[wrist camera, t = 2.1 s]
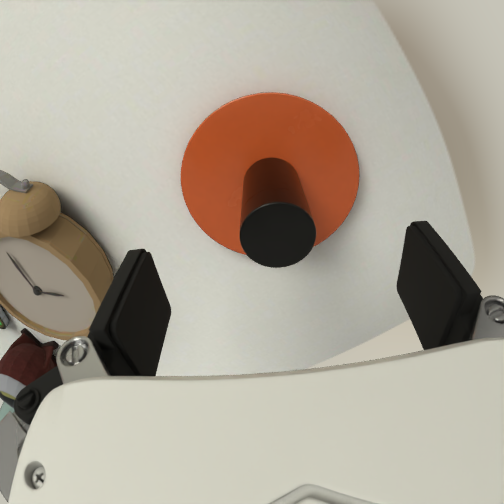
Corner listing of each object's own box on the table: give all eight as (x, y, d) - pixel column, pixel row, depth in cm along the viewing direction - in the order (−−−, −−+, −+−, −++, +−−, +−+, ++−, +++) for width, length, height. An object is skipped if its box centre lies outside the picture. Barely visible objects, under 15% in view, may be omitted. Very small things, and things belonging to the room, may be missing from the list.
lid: (168, 106, 15) (124, 135, 10) (352, 86, 14) (404, 106, 9) (202, 255, 21) (187, 329, 15) (351, 240, 20) (381, 310, 15)
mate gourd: (36, 319, 25) (-22, 446, 13) (85, 367, 29) (48, 487, 17) (7, 331, 27) (-43, 436, 15) (51, 373, 31) (15, 474, 19)
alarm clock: (39, 345, 23) (-73, 228, 13) (53, 302, 26) (-41, 187, 16) (133, 337, 21) (-4, 169, 11) (144, 285, 25) (41, 126, 14)
